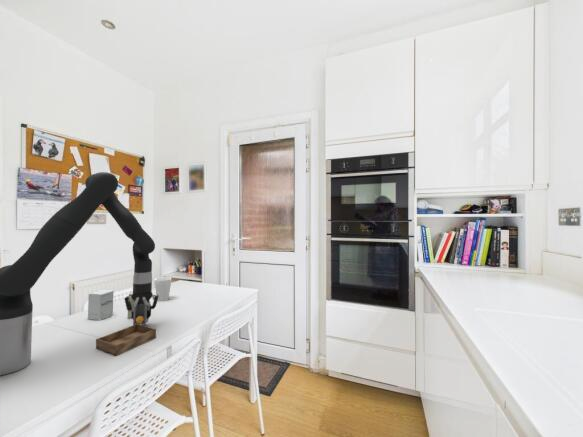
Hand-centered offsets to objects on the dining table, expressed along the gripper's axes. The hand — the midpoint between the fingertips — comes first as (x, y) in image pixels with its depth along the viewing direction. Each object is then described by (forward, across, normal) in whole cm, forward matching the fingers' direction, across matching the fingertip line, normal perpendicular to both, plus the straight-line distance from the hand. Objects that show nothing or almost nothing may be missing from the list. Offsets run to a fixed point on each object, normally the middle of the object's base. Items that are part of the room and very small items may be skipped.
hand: (141, 318), depth 115 cm
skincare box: (+4, -6, +13) cm, 15 cm away
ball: (0, 0, -2) cm, 2 cm away
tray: (+4, 0, -16) cm, 17 cm away
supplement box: (+4, -22, +17) cm, 28 cm away
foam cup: (+3, +1, +40) cm, 40 cm away
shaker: (+2, 0, 0) cm, 2 cm away
